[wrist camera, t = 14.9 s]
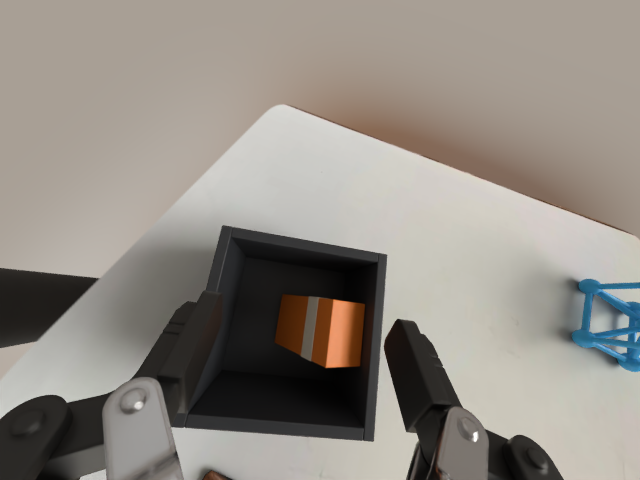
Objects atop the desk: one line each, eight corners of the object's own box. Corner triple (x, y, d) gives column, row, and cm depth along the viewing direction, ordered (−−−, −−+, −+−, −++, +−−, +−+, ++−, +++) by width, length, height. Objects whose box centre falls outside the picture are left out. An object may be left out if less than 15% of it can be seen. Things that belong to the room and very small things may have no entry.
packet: (273, 343, 25) (325, 369, 18) (281, 293, 26) (333, 298, 19) (303, 343, 27) (360, 367, 20) (309, 297, 28) (366, 303, 21)
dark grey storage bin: (214, 374, 26) (170, 427, 15) (242, 250, 29) (222, 224, 19) (337, 386, 28) (374, 442, 17) (350, 268, 31) (387, 254, 20)
